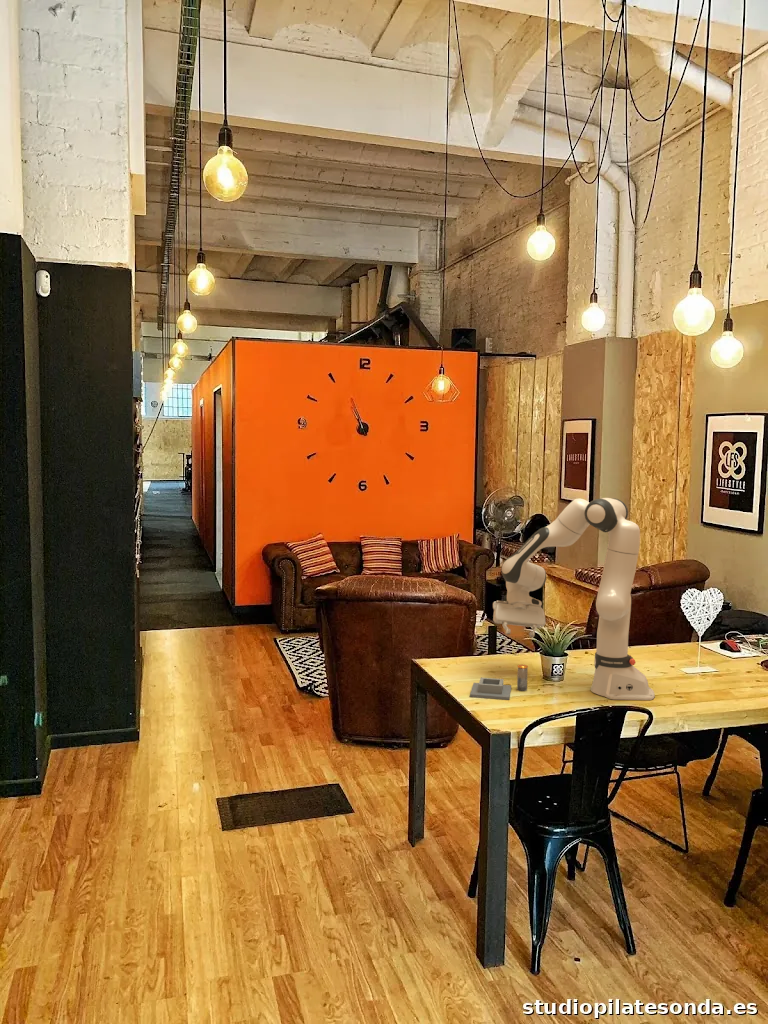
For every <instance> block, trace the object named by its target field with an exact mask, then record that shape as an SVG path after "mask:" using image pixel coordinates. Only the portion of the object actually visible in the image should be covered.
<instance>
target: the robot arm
mask: <svg viewBox="0 0 768 1024" xmlns="http://www.w3.org/2000/svg"><path fill="white" fill-rule="evenodd" d="M628 517H629V509H628V507H627V505H626V503H625V502H624V501H623V500H620V499H618V498H611V497H602V498H596V499H593V500H591V501H590V502H589V500H586V499H584V498H580V497H579V498H575V499H573V500H572V501H571V502H570V503H568V504H567V506H565V507H564V509H563V510H562V511H561V512H560V513H559V514H558V516H557V517H556V519H554V520H553V521H552V522H551V523H550V524H548V525H547V526H544V527H541V528H539V529H538V530H536V531H535V532H534V533H533V534H532V535H531V536H530V537H529V538H528V539H527V540H526V541H525V542H524V543H523V544H522V545H520V547H519V548H518V549H517V550H516V551H515V552H514V553H512V555H510V556H509V557H507V558H506V559H505V560H504V561H503V563H502V565H501V570H500V572H501V574H502V578H503V579H504V581H505V587H506V590H507V591H506V600H496V601H493V602H492V609H493V615H492V617H493V618H492V621H493V622H494V624H499V625H500V624H501V625H502V627H503V629H504V631H505V635H511V634H512V632H511V628H509V627H508V626H507V625H511V626H518V627H527V628H529V627H530V628H531V631H529V633H528V635H529V637H530V638H534V637H535V631H536V629H537V628H538V629H542V628H544V627H545V625H546V615H545V611H544V609H543V608H542V604H543V603H542V601H541V600H539V599H536V598H534V597H532V596H530V592H534V591H537V590H540V589H541V588H542V587H544V585H545V584H546V581H547V572H546V569H545V568H544V567H542V566H540V565H538V564H536V563H532V562H531V561H530V562H529V560H531V558H532V557H534V556H535V555H536V553H537V552H538V551H540V550H542V549H544V548H550V547H551V548H552V547H559V548H563V547H564V548H565V547H571V546H572V545H574V544H575V543H576V542H577V541H578V540H579V539H580V538H581V537H582V536H583V534H584V533H585V531H586V530H587V529H588V528H589V526H591V527H593V528H595V529H598V530H599V531H601V532H603V533H607V534H608V542H607V548H606V553H605V560H604V565H603V570H602V574H601V578H600V582H599V586H598V587H599V588H598V591H597V596H596V600H595V608H596V612H597V614H598V624H597V630H596V651H595V653H594V662H593V663H594V674H593V679H592V684H591V686H590V691H591V692H592V693H594V694H596V695H599V696H602V697H606V698H607V699H609V700H626V701H628V700H629V701H630V700H632V701H634V700H635V701H637V700H638V701H651V700H654V699H655V694H656V693H655V691H654V690H653V688H652V687H650V686H649V682H648V679H647V676H646V675H645V674H644V673H642V672H641V671H640V670H639V669H638V668H636V667H635V666H634V665H636V660H635V659H634V658H633V657H632V656H631V654H628V653H629V651H628V650H629V633H630V631H629V630H630V623H631V622H630V620H631V612H632V596H631V595H632V594H631V592H632V587H633V585H634V584H633V583H634V579H635V574H636V571H637V564H638V559H639V553H640V545H641V530H640V529H641V528H640V526H639V524H637V523H635V522H634V521H632V520H628ZM540 626H541V627H542V628H541V627H540Z"/></svg>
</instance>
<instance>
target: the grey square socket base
mask: <svg viewBox="0 0 768 1024" xmlns="http://www.w3.org/2000/svg"><path fill="white" fill-rule="evenodd" d="M511 693H512V685H510V684H504V678H494V677H493V678H492V677H480V678H479V682H473V684H472V687H471V690H470V693H469V698H478V699H490V700H506V701H507V700H508V701H510V700H511V699H510V698H511Z"/></svg>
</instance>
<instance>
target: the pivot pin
mask: <svg viewBox="0 0 768 1024" xmlns="http://www.w3.org/2000/svg"><path fill="white" fill-rule="evenodd" d="M528 668H529V666H528V665H527V664H524V663H523V664H522V663H521V664H518V665H517V682H516V685H517V686H516V688H517V689H516V690H517V691H518V692H527V691H528Z"/></svg>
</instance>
